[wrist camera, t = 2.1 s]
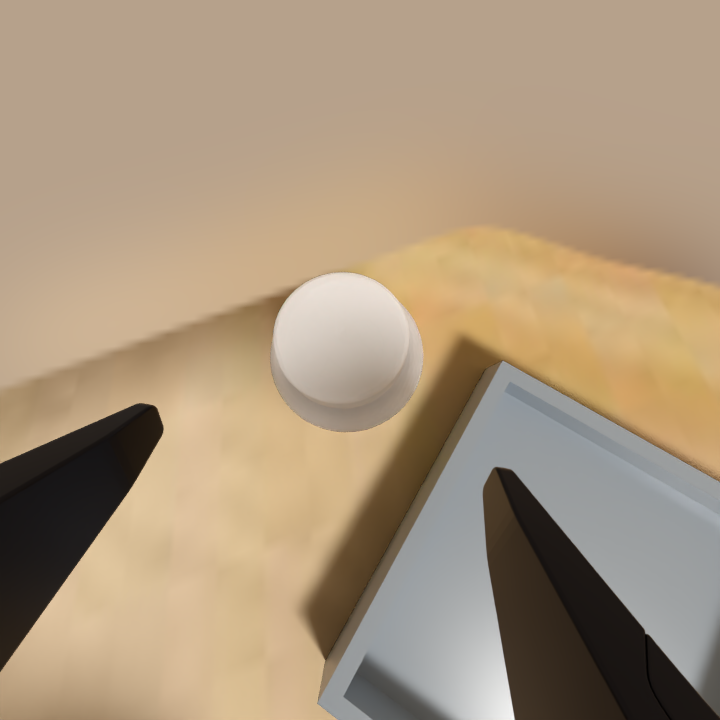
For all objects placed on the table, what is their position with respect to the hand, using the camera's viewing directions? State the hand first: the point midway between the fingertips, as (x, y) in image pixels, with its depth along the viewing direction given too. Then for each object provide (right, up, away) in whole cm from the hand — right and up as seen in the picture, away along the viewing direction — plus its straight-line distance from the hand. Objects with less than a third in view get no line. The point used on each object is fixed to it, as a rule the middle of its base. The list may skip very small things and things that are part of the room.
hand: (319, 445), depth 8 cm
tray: (+11, -10, +8) cm, 17 cm away
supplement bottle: (+1, +1, +11) cm, 11 cm away
